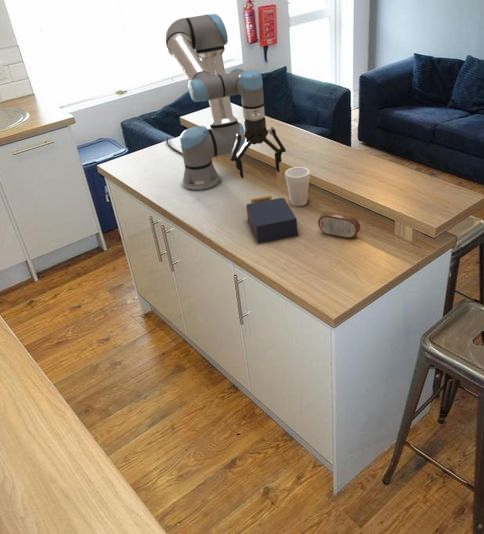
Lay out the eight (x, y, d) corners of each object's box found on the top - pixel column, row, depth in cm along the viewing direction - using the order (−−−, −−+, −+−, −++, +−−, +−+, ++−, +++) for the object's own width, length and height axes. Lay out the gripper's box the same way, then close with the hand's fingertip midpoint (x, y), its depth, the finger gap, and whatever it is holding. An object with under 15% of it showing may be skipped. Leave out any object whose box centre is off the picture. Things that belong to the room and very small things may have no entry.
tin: (360, 236, 198) (360, 216, 193) (357, 241, 196) (357, 220, 191) (320, 229, 204) (320, 209, 199) (317, 234, 202) (316, 213, 197)
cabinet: (248, 221, 212) (246, 204, 208) (285, 214, 215) (284, 197, 211) (258, 243, 199) (256, 226, 195) (297, 235, 201) (296, 218, 197)
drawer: (244, 209, 218) (243, 197, 215) (278, 202, 221) (277, 190, 218) (257, 236, 201) (256, 223, 198) (293, 229, 203) (292, 216, 200)
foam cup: (308, 208, 217) (307, 178, 210) (285, 207, 219) (283, 177, 212) (312, 197, 225) (311, 167, 217) (289, 196, 227) (287, 166, 219)
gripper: (220, 126, 189) (228, 183, 201) (291, 115, 194) (295, 171, 206) (217, 119, 195) (224, 175, 207) (286, 108, 200) (289, 163, 212)
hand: (259, 173), depth 207 cm, fingers open, 13 cm apart
